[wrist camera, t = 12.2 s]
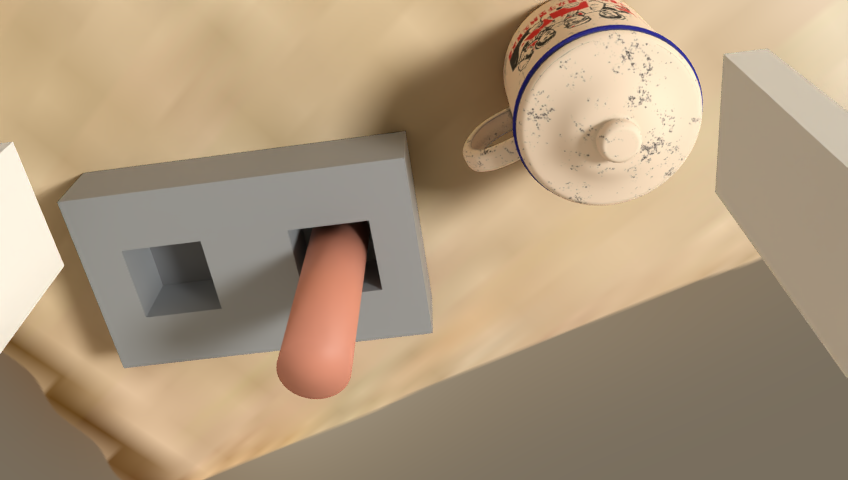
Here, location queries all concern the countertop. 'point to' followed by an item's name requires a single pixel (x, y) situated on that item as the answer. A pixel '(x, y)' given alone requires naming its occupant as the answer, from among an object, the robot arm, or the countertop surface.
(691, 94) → the teacup with lid
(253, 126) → the countertop surface
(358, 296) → the dowel
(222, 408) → the countertop surface
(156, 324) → the bore block
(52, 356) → the countertop surface
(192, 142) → the countertop surface
